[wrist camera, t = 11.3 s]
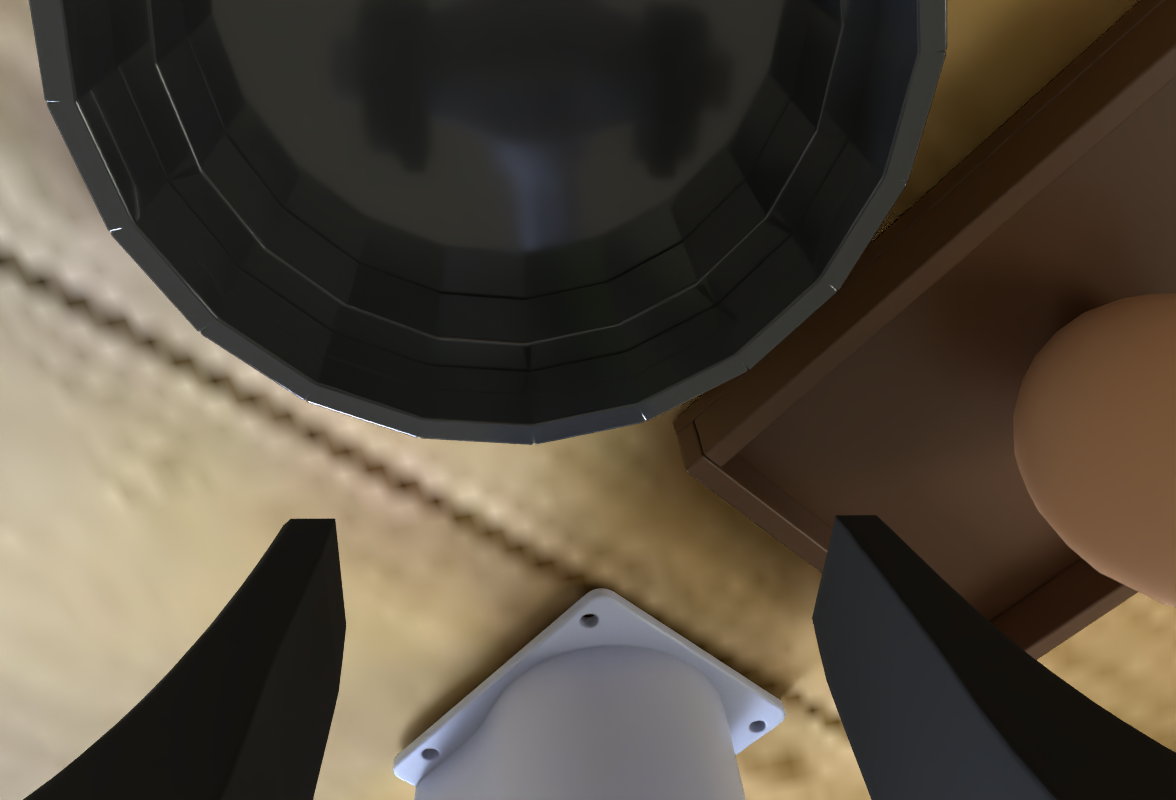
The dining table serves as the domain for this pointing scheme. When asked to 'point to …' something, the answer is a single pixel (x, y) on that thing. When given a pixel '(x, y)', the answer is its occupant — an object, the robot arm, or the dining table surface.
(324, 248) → the dark grey mixing bowl
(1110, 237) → the tray
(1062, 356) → the egg
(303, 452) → the dining table surface
